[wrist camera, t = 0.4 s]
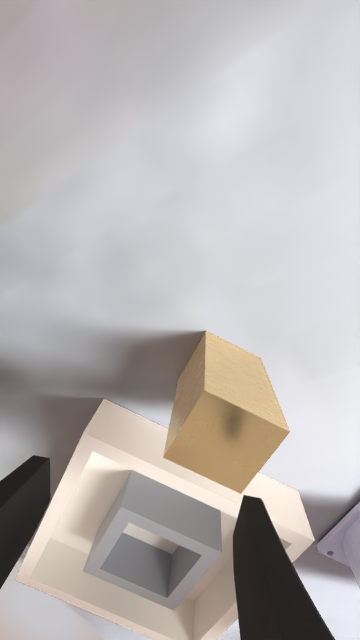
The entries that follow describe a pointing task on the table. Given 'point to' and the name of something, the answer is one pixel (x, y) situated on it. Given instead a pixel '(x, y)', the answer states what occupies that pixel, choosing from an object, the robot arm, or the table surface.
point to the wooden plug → (224, 415)
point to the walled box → (148, 533)
